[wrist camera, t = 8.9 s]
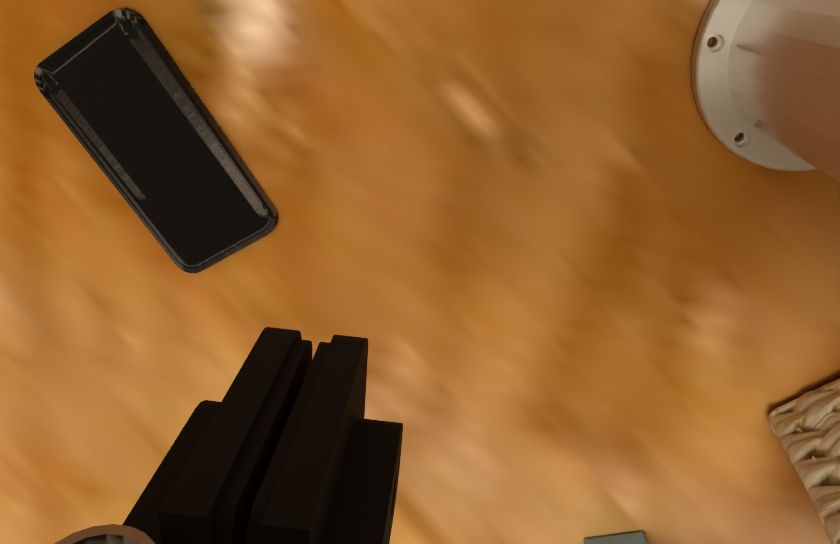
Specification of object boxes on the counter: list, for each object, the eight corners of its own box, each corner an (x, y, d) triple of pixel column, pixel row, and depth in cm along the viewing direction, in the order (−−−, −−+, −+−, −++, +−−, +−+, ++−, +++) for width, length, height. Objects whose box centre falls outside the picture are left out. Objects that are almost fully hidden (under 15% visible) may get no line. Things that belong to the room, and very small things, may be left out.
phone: (124, 0, 36) (282, 226, 41) (134, -1, 37) (286, 220, 42) (24, 74, 38) (185, 279, 43) (36, 71, 39) (192, 272, 44)
